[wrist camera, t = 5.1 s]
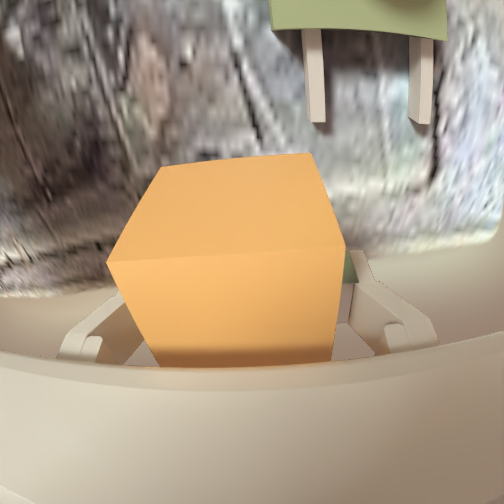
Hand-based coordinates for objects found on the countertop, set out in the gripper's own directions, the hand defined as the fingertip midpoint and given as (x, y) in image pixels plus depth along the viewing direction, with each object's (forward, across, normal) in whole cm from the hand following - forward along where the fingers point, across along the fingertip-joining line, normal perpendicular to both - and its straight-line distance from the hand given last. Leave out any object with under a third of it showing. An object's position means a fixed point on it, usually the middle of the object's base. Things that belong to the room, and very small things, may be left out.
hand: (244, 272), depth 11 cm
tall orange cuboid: (+2, 0, 0) cm, 2 cm away
